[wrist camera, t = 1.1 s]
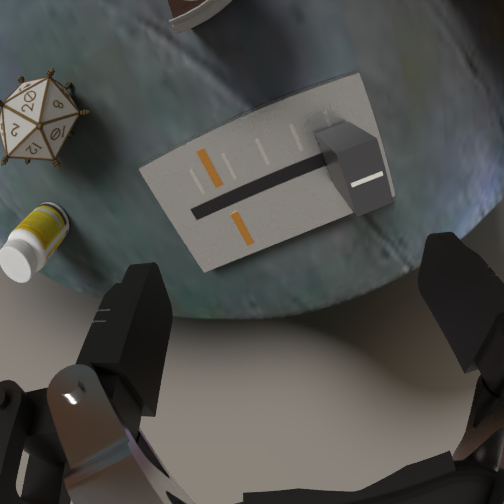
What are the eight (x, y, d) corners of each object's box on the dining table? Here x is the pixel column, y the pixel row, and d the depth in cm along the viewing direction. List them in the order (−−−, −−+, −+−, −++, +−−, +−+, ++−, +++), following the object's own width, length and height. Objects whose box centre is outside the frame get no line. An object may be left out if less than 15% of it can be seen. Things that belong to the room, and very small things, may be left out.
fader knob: (348, 121, 24) (377, 138, 19) (364, 173, 26) (393, 202, 21) (314, 133, 24) (336, 153, 19) (334, 185, 27) (356, 217, 22)
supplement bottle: (33, 198, 28) (-9, 238, 21) (69, 203, 29) (29, 247, 22) (37, 236, 31) (1, 280, 23) (71, 242, 31) (38, 291, 24)
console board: (351, 72, 23) (359, 73, 22) (387, 187, 30) (395, 196, 28) (144, 162, 27) (138, 169, 25) (205, 261, 33) (204, 273, 32)
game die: (62, 96, 26) (-5, 59, 16) (120, 91, 24) (46, 38, 14) (36, 177, 26) (-42, 157, 16) (89, 187, 24) (-3, 161, 15)
